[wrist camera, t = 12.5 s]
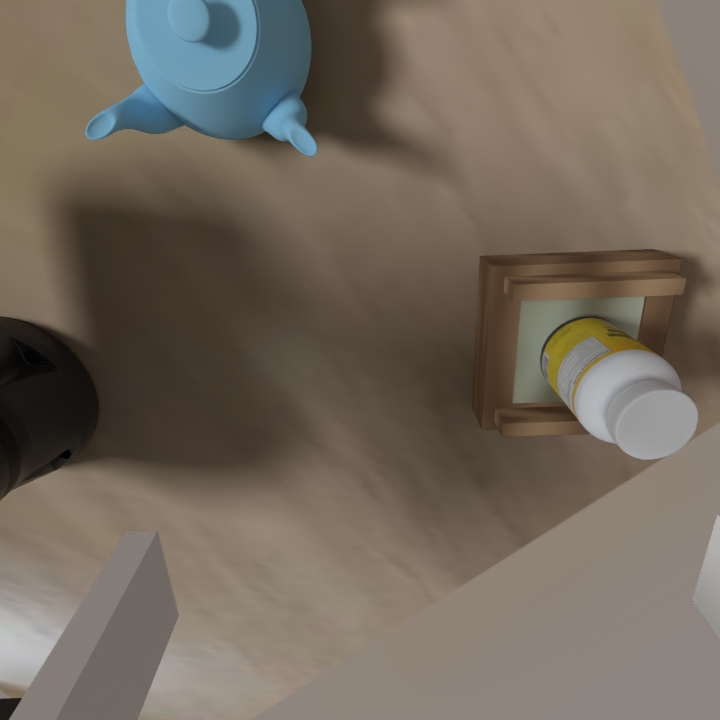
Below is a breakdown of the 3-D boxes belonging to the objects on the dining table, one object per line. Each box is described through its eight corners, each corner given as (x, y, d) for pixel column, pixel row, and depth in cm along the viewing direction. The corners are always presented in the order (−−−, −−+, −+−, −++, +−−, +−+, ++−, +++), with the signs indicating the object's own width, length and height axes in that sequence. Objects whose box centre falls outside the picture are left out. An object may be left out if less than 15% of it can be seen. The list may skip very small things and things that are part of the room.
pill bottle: (629, 367, 40) (728, 446, 29) (552, 401, 41) (620, 489, 30) (603, 297, 38) (700, 355, 27) (523, 336, 39) (585, 406, 28)
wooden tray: (472, 407, 46) (488, 445, 40) (480, 256, 41) (500, 274, 35) (624, 402, 46) (664, 440, 40) (652, 249, 40) (703, 266, 34)
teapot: (134, -70, 33) (43, -160, 23) (335, -55, 33) (324, -137, 24) (153, 143, 38) (83, 140, 28) (327, 156, 38) (316, 157, 28)
